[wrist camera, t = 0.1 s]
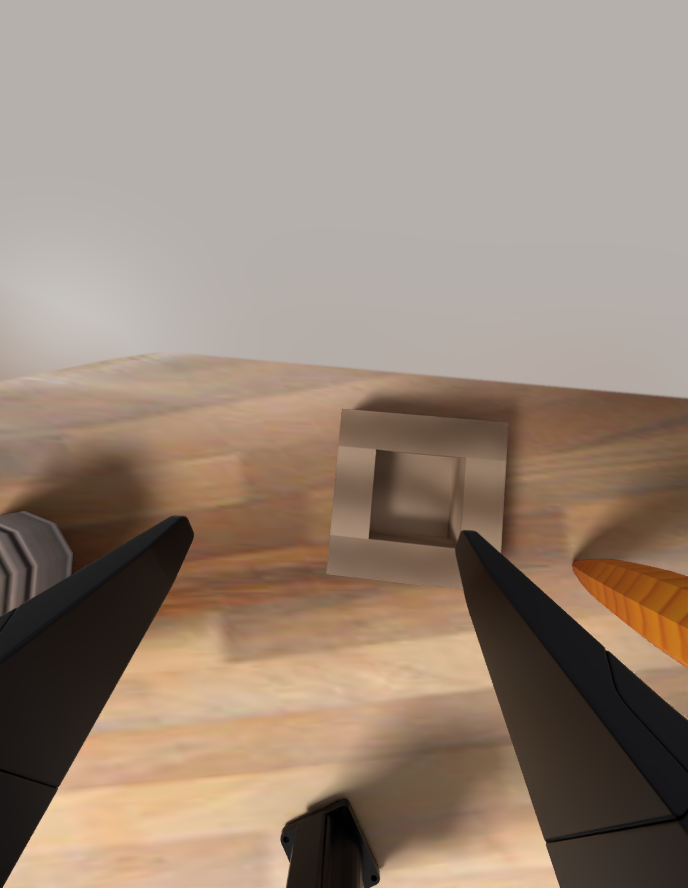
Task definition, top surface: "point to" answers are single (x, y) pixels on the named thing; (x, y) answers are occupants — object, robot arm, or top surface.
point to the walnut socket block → (414, 495)
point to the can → (30, 558)
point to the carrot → (642, 600)
